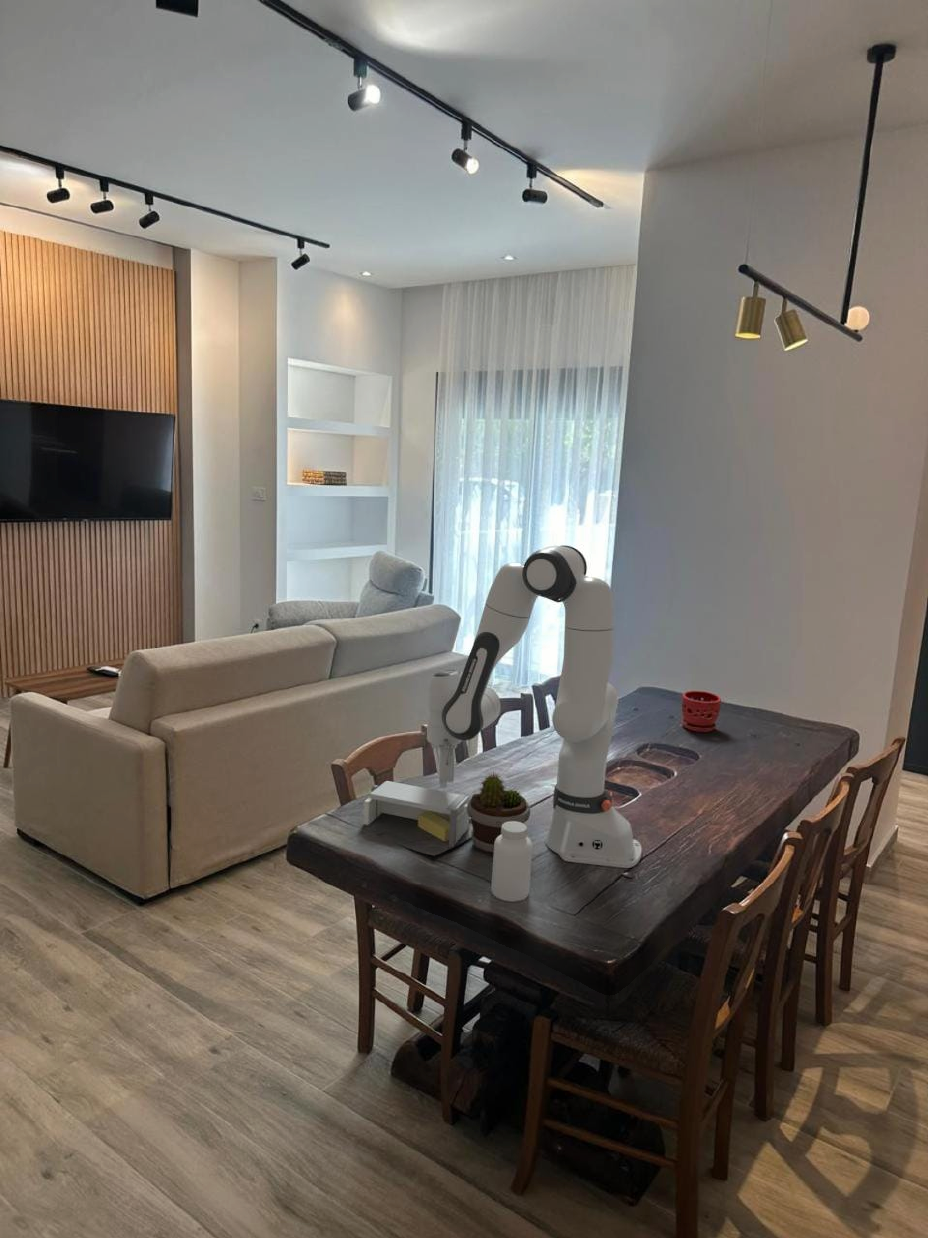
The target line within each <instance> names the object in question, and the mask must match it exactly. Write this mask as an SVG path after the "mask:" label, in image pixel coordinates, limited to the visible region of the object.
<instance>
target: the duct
mask: <svg viewBox="0 0 928 1238" xmlns="http://www.w3.org/2000/svg"><path fill="white" fill-rule="evenodd" d="M363 803H364V806H363V808H364V809H363V825H365V826H369V825H370V824H371V823H372V822H374V821H375V820H376V819H377V818H379V816H380V815H382V814H386V815H393V816H397V817H401V818H402V817H403V818H407V819H412V820H417V821H418V814H421V813H425V812H428V811H430V810H425V809H420V808H415V807H410V806H406V805H401V804H396V803H391V802H386V801H381V800H376V799H371V798H370V796H369V797H368V798H367V799H365V800H364V802H363ZM467 805H468V803H466V804H465V805H464V806H463V808H462V809H461V810H460V811H459V812H458V813H457V808H453V807H452V808H451V812H450V814H445V813H440V812H435V811H430V812H432V813H434V814H436V815H438V816H439V817H441V818H443V819H445V820H447V821H449V822H450V832H449V840H448V846H449V847H455V846H456V844H457V843H458V842H459V841H460V839H462V837H463V836H464V835H463V834H466V833H467V831H468V830H469V829H468V828H470V819H471V818H470V817H469V816H468V813H467ZM467 829H468V830H467ZM462 835H463V836H462ZM461 836H462V837H461ZM458 840H459V841H458Z"/></svg>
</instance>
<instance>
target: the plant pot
mask: <svg viewBox="0 0 928 1238" xmlns="http://www.w3.org/2000/svg"><path fill="white" fill-rule="evenodd" d="M721 707H722V698H721V696H719V695H717V694H715V693H712V692H708V691H704V690H687V691H685V692H683V693H682V697H681V713H682V717H683V719H682V720H681V724H682V725H683V727H685V729H688V730H690V731H694V732H698V733H699V732H700V733H708V732H709V733H710V732H713V730H715V729H716V728H717V723H716V721H717V719H718V718H719V714H720V712H721Z"/></svg>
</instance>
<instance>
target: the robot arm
mask: <svg viewBox="0 0 928 1238" xmlns="http://www.w3.org/2000/svg"><path fill="white" fill-rule="evenodd" d="M587 569H588V565H587V561H586V558H585V556H584V555H583V553H582V552H581V551H579V549H577V548H575V547H573V546H571V545H550V546H547V547H543V548H541V549H538V550H535V551H534V552H532V554H530V555H529V556H528V557H527V559H526V560H525V562H524V564H523V563H520V562H509V563H508V562H507V563H505V564H504V565H503V566H501V567H500V568H499V570H498V571H497V573H496V575H495V578H494V579H493V582H492V583H491V587H490V589H489V591H488V595H487V598H486V601H485V603H484V607H483V611H482V615H481V618H480V621H479V625H478V629H477V631H476V634H475V637H474V641H473V644H472V648H471V649H470V652H469V655H468V657H467V660H466V662H465V665H464V668H463V671H461V670H458V669H446V670H441V671H439V672H436V673H435V674H434V675H433V676H431V679H430V682H429V688H428V697H427V698H428V700H427V701H428V702H427V706H428V712H429V713H428V718H427V720H426V721H427V722H426V723H427V724H426V725H427V726H426V727H427V728H426V740H427V742H428V743H430V744H431V747H432V751H433V755H434V757H433V758H434V762H435V765H436V766H435V767H436V772H437V777H438V787H439V788H440V789H446V788H447V786H448V785H447V784H448V783H453V782H454V779H455V752H454V750H455V749H457V746H458V745H459V744H461V743H462V741H470V740H473V739H474V738H476V736H477V735H479V734H480V732H481V731H483V730H484V729H485V728H487V727H488V726H489V725H491V724H492V723H493V722H495V720H497V719H498V717H499V716H500V715H501V711H502V703H501V700H500V697H499V695H498V693H496V692H495V691H494V689H492V688H490V687H488V685H489V682H490V679H491V676H492V674H493V672H494V669H495V667H496V666H497V664H498V663H499V662H500V661H501V660H502V658H503V657H504V656H505V655H506V654H507V653H508V652H510V650H512V648H514V647H515V646H516V645H517V644H518V643H519V642H520V640H521V639H522V637H523V635H524V634H525V632H526V630H527V627H528V625H529V623H530V620H531V616H532V612H533V609H534V605H535V603H536V601H537V599H538V597H541V598H544V599H547V600H550V601H553V602H554V603H562V604H563V607H564V635H563V636H564V637H563V638H564V639H563V644H564V645H563V662H562V667H561V668H562V669H561V673H560V678H559V682H558V683H559V684H558V687H557V695H556V703H555V705H554V708H553V712H552V715H551V721H552V726H553V728H554V730H555V732H556V733H557V735H558V736H559V737H560V738H562V739H563V741H562V743H561V744H562V745H561V748H560V751H559V753H558V761H557V762H558V763H557V774H556V775H557V776H556V784H555V786H554V789H553V794H552V795H553V797H552V805H553V806H552V808H553V813H552V818H551V822H550V826H549V829H548V832H547V835H546V837H545V840H544V841H545V845H546V846H547V848H548V849H550V850H551V851H553V852H554V853H556V854H558V855H559V857H560V858H561V859H562V860H563V861H564V862H570V863H578V864H586V865H587V864H588V865H597V866H605V867H612V868H613V867H614V868H621V869H622V868H623V869H630V868H633V867H635V866H636V865H638V863H639V862H640V861H641V858H642V854H643V851H642V850H643V849H642V848H643V847H642V845H641V843H640V842H639V841H638V840H637V839H636V838H635V839H634V836H633V829H632V825H631V824H630V821H628V820H627V819H626V818H625V817H624V816H623V815H622V814H620V813H619V812H618V811H617V810H615V809H614V807H613V806H612V804H613V792H612V791H610V793H609V792H608V791H607V790H606V789H605V782H606V781H605V780H606V771H607V760H608V754H609V749H610V745H611V740H612V737H613V731H614V726H615V725H614V724H615V719H616V713H617V710H618V703H619V696H618V693H617V691H616V688H615V687H614V686H613V685H612V684H611V683H610V682H609V677H610V672H611V668H612V665H613V659H614V635H615V611H614V610H615V609H614V601H613V594H612V589H611V586H610V585H609V584H608V582H606V581H605V580H602V579H601V578H597V577H589V576H587Z"/></svg>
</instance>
